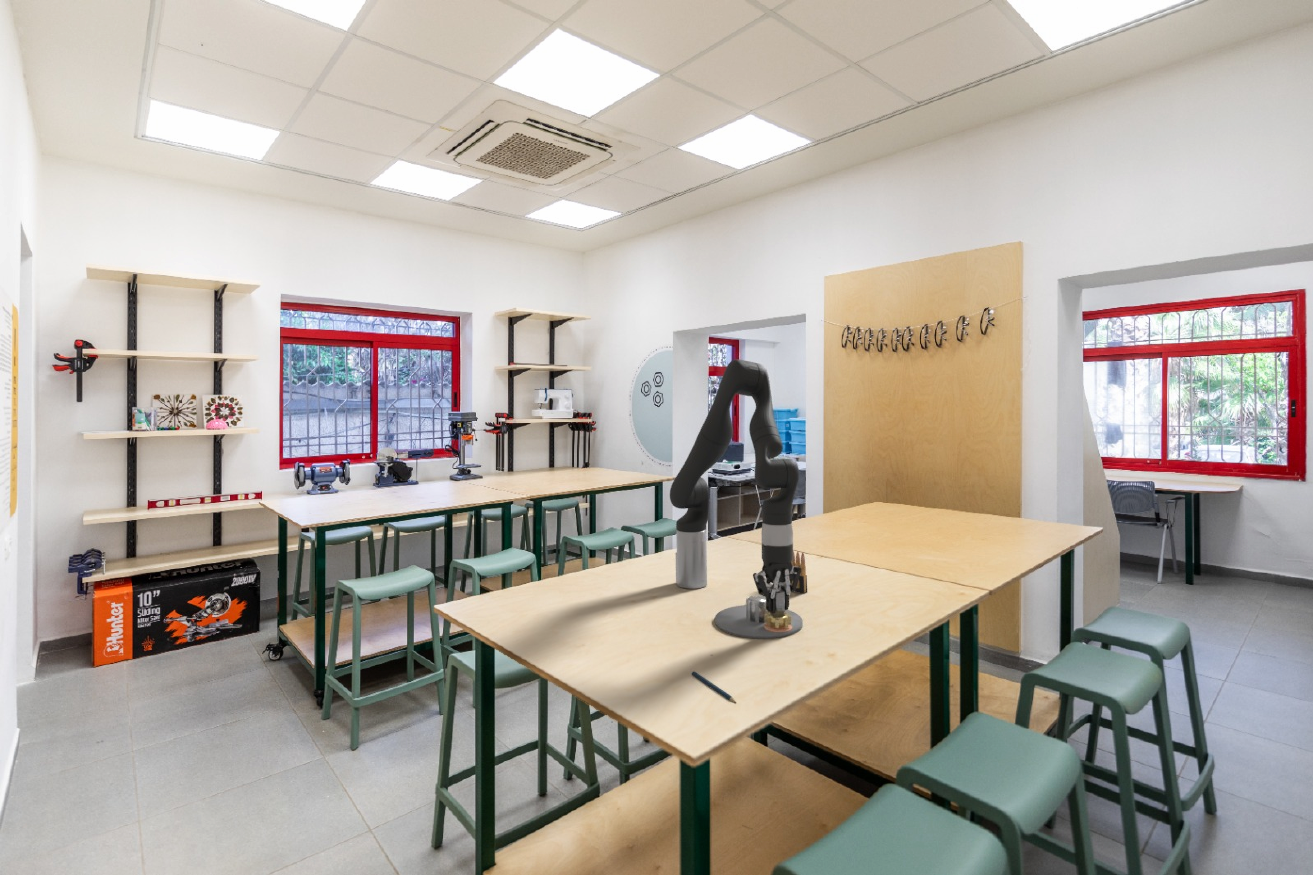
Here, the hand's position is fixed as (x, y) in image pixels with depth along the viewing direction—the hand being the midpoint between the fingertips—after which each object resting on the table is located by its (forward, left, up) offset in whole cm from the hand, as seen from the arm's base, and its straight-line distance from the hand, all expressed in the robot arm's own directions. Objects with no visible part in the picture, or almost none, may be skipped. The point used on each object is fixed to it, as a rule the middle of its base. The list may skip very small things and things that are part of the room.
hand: (777, 610), depth 155 cm
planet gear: (0, 0, -3) cm, 3 cm away
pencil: (+17, -31, -6) cm, 35 cm away
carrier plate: (-7, 0, -5) cm, 9 cm away
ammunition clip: (-24, +26, -5) cm, 36 cm away
